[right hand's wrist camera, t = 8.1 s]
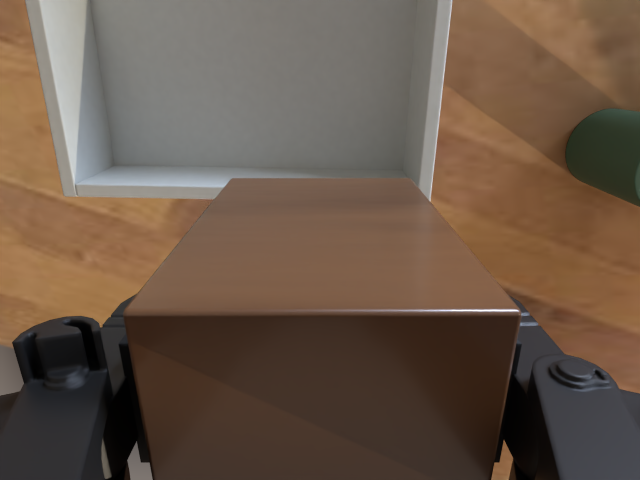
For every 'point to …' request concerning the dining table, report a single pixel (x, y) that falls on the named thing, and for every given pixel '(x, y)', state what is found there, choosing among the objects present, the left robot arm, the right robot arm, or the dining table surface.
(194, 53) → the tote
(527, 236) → the dining table surface
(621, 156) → the dark green cylinder
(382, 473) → the walnut block
